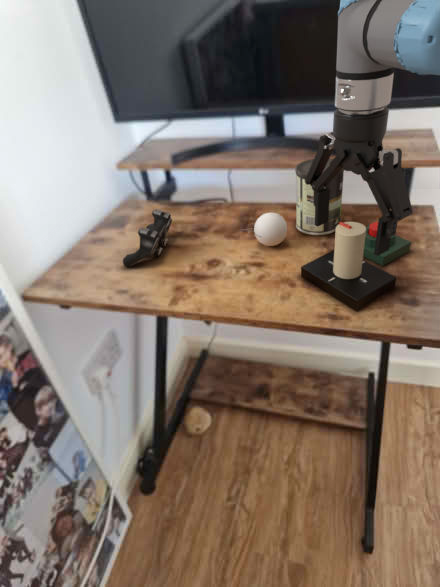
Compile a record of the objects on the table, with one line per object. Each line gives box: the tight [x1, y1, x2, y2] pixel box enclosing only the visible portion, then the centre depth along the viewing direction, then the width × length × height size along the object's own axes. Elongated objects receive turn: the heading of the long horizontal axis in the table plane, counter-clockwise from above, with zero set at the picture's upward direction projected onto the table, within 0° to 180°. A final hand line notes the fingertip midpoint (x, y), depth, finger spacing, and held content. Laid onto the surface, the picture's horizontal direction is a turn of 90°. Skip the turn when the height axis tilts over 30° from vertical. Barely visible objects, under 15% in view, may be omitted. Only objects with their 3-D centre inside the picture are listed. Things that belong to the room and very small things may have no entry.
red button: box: [369, 221, 378, 237], centre depth 81 cm, size 4×4×2 cm
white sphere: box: [242, 212, 288, 247], centre depth 89 cm, size 10×7×7 cm
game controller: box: [122, 209, 173, 268], centre depth 92 cm, size 16×7×10 cm, turn 167°
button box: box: [363, 224, 412, 267], centre depth 83 cm, size 10×8×4 cm
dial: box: [333, 221, 366, 279], centre depth 72 cm, size 5×5×9 cm
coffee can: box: [294, 157, 345, 236], centre depth 91 cm, size 10×10×14 cm
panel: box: [300, 249, 398, 312], centre depth 75 cm, size 14×10×3 cm
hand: (349, 236), depth 70 cm, fingers open, 13 cm apart
